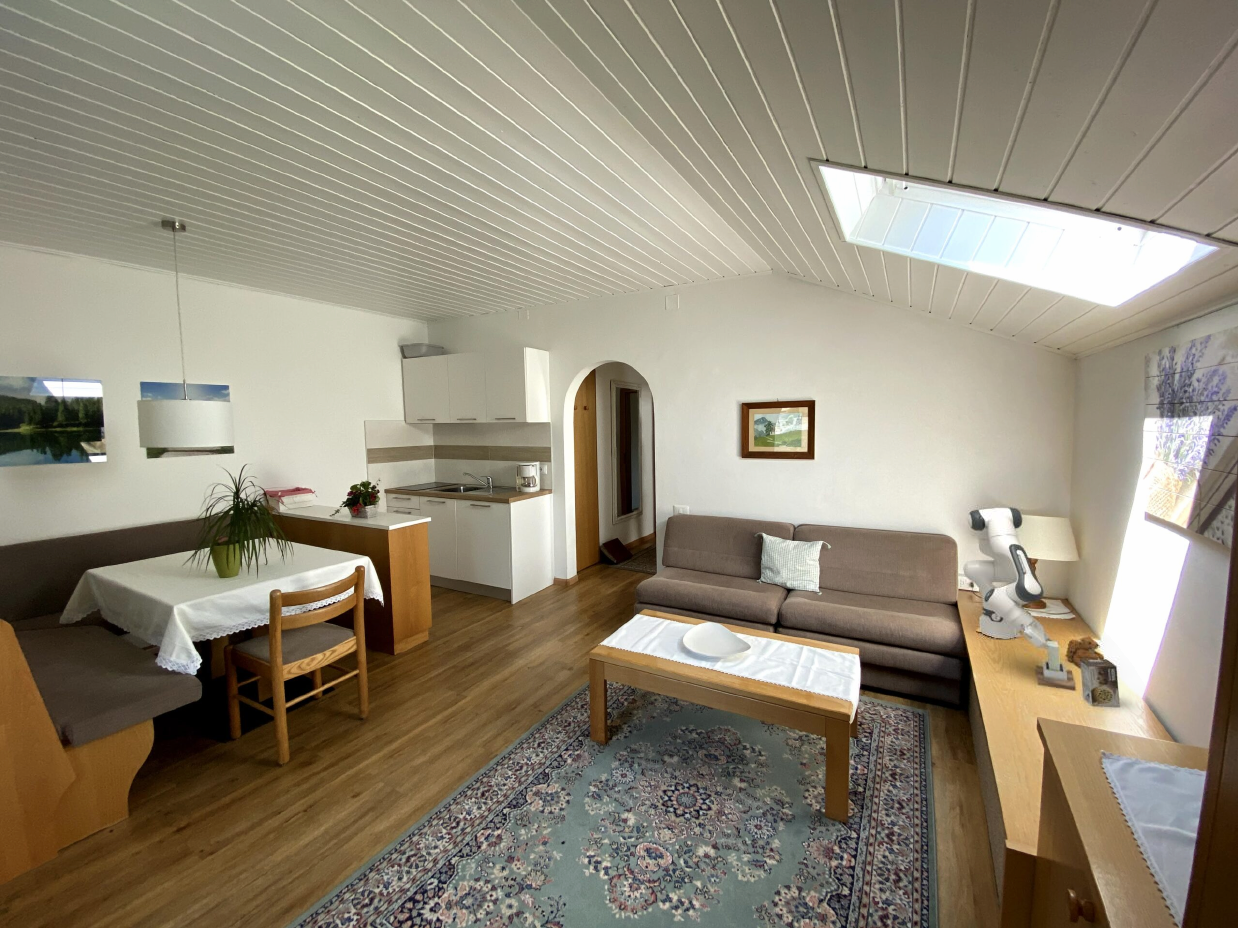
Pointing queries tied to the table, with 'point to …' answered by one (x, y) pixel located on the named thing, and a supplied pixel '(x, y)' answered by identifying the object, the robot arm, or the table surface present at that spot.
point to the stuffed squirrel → (1082, 650)
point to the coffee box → (1099, 682)
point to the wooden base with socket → (1055, 677)
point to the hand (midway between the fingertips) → (1052, 646)
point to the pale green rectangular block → (1053, 656)
